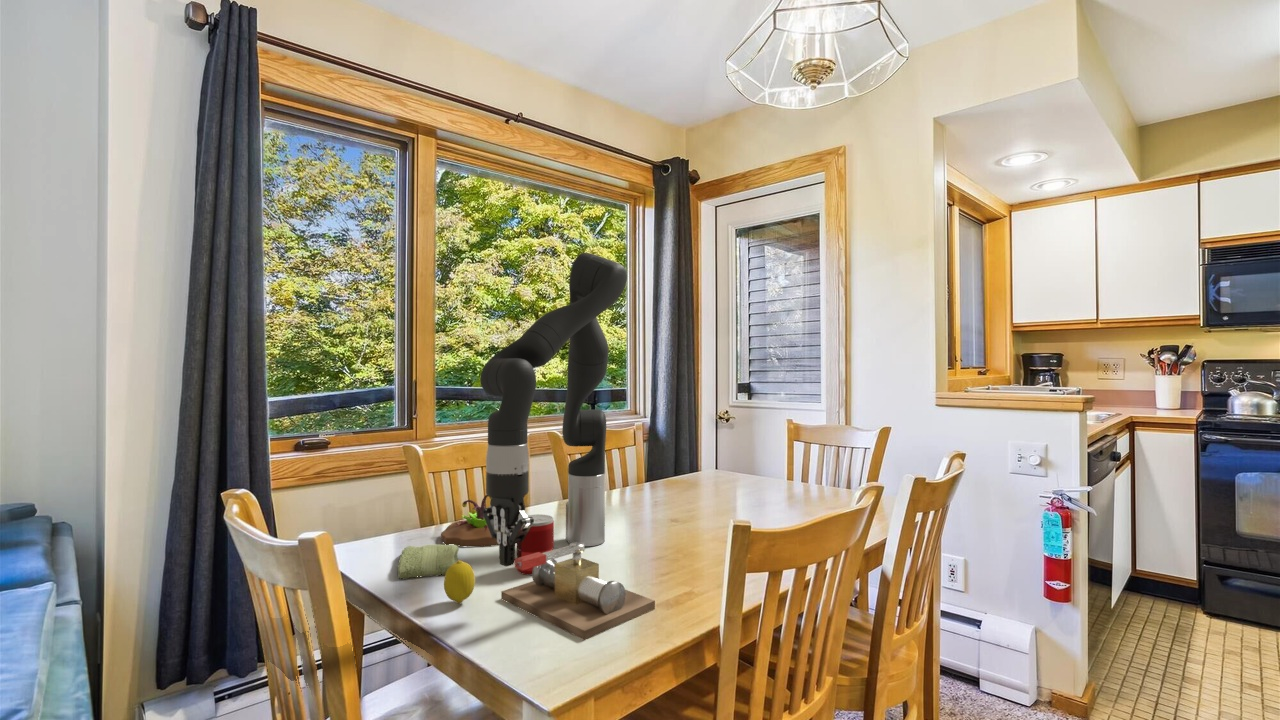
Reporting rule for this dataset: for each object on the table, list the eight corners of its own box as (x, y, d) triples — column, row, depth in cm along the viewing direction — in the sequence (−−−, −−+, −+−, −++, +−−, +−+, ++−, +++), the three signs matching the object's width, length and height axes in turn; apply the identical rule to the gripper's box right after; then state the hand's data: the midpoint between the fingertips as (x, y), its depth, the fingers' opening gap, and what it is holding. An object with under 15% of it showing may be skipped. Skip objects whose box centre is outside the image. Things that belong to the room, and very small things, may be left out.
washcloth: (459, 551, 142) (459, 538, 142) (459, 577, 125) (459, 561, 125) (401, 556, 138) (401, 543, 138) (392, 583, 121) (392, 567, 121)
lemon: (457, 612, 106) (458, 567, 106) (437, 605, 109) (437, 562, 109) (481, 601, 111) (481, 559, 111) (460, 595, 114) (461, 553, 114)
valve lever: (577, 548, 112) (577, 540, 112) (587, 551, 110) (587, 543, 110) (513, 567, 102) (513, 558, 102) (523, 570, 100) (523, 562, 100)
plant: (511, 549, 144) (511, 503, 144) (431, 548, 144) (432, 502, 144) (528, 526, 164) (528, 486, 164) (458, 526, 164) (458, 485, 164)
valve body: (531, 588, 115) (532, 544, 115) (554, 581, 119) (554, 538, 119) (602, 620, 101) (602, 569, 101) (625, 610, 105) (625, 561, 105)
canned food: (560, 568, 129) (560, 518, 129) (530, 578, 123) (531, 525, 123) (539, 560, 134) (539, 512, 135) (509, 569, 129) (509, 518, 129)
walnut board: (501, 599, 112) (501, 591, 112) (570, 576, 125) (570, 569, 125) (584, 640, 96) (584, 630, 96) (654, 608, 108) (654, 600, 108)
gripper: (469, 466, 108) (468, 561, 108) (512, 476, 99) (511, 579, 99) (503, 462, 114) (503, 552, 114) (547, 470, 105) (546, 567, 105)
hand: (507, 564), depth 107 cm, fingers closed
